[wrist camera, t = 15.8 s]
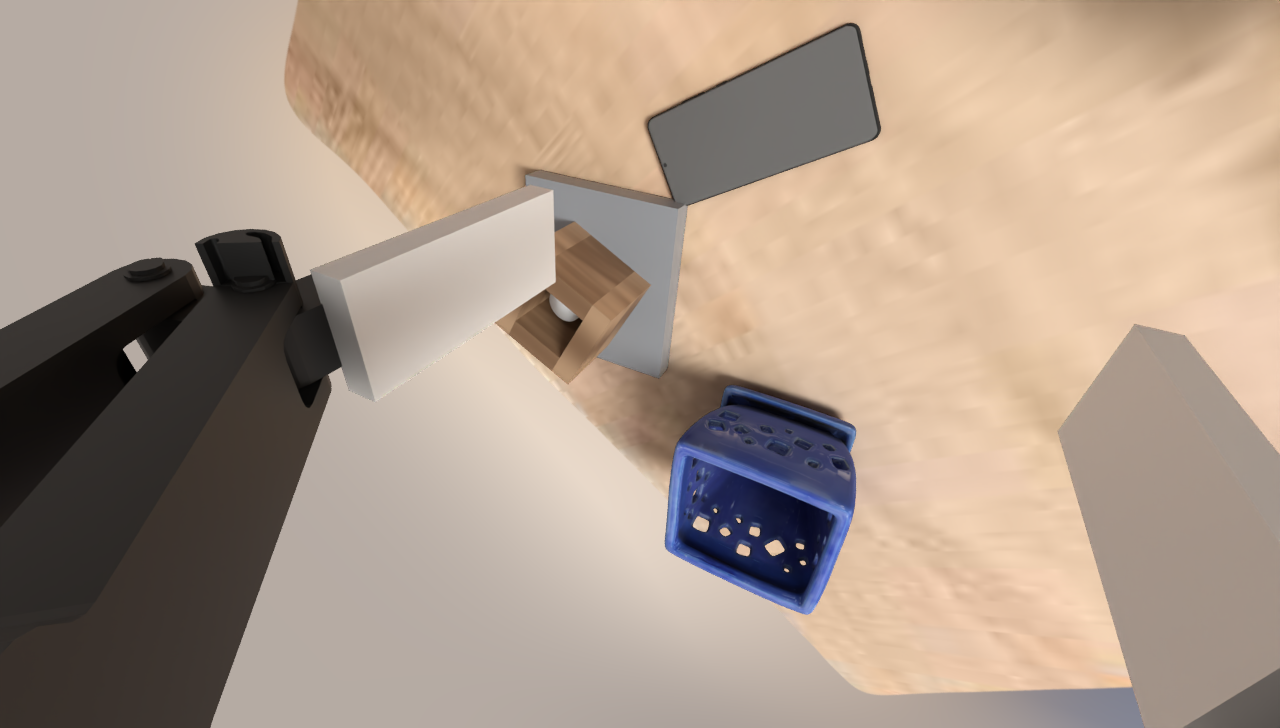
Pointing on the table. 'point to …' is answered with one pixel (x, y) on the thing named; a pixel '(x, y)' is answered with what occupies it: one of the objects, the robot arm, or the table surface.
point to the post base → (627, 259)
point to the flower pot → (764, 495)
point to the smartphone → (769, 119)
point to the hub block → (577, 305)
